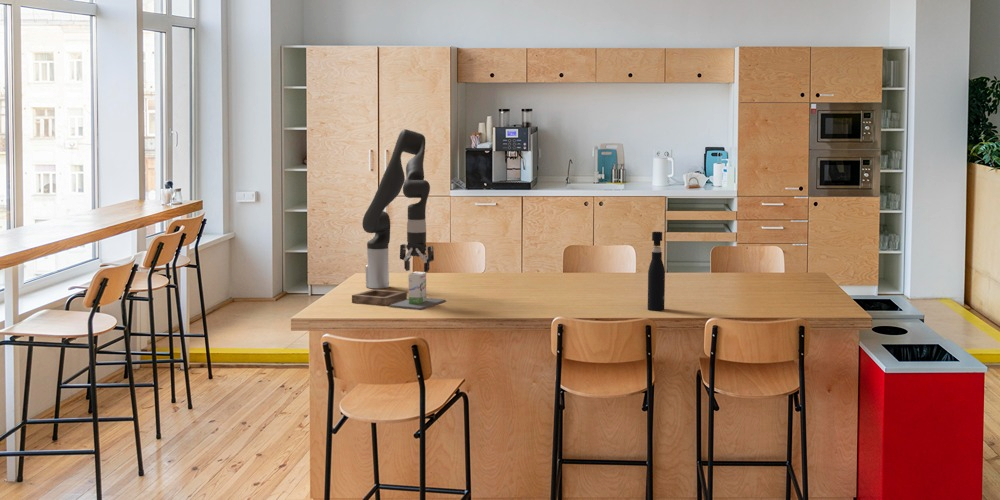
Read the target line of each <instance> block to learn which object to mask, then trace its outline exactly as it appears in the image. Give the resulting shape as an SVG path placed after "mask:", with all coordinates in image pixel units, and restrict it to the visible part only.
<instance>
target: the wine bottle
mask: <svg viewBox="0 0 1000 500" xmlns="http://www.w3.org/2000/svg"><path fill="white" fill-rule="evenodd" d="M651 241H652V242H653V247H652V252H651V261H650V263H649V266H648V272H647V274H648V275H647V310H648V311H653V312H660V311H661V312H662V311H664V310H665V300H666V299H665V298H666V297H665V295H666V294H665V292H666V290H665V288H666V287H665V286H666V284H665V283H666V271H665V266H664V262H663V258H662V257H663V252H662V247H661V242H662V241H663V232H662V231H652V233H651Z"/></svg>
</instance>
